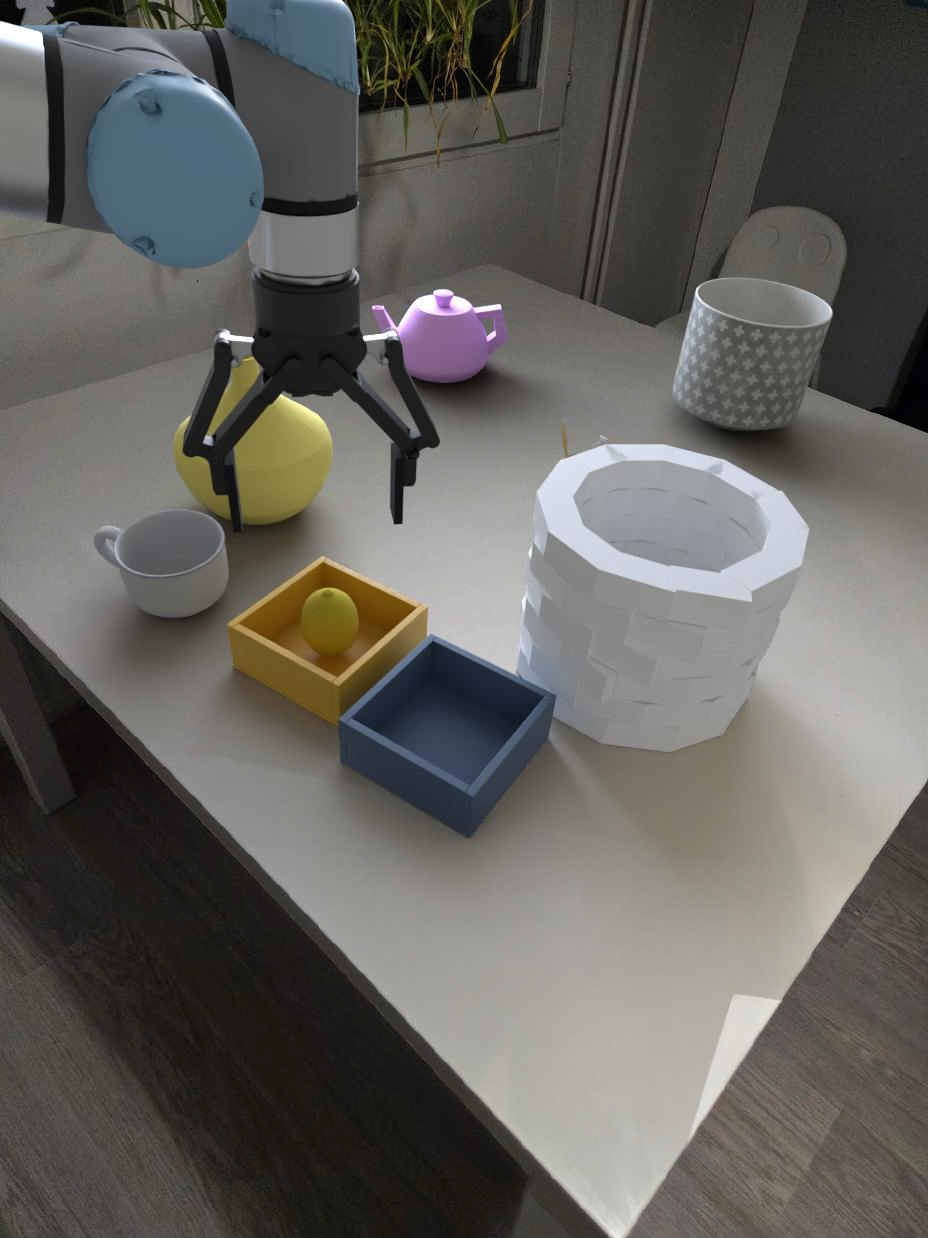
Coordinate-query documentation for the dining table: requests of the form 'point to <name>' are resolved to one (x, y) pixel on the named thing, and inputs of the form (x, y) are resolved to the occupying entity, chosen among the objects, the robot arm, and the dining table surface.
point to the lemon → (329, 621)
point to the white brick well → (654, 591)
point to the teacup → (169, 561)
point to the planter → (749, 352)
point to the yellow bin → (313, 680)
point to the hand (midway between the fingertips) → (318, 520)
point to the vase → (263, 456)
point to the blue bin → (446, 732)
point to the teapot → (445, 336)
